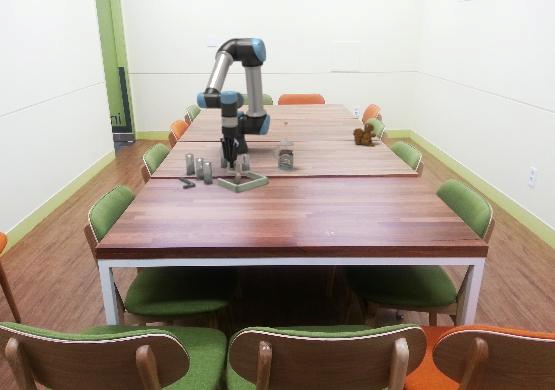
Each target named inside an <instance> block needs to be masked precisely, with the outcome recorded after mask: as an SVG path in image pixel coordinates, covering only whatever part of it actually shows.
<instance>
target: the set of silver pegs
mask: <svg viewBox="0 0 555 390" xmlns="http://www.w3.org/2000/svg"><path fill="white" fill-rule="evenodd" d="M194 155H195V154H194V153H186V154H185V156H184V157H185V166H186V169H185V170H186V175H187V174H188V176H194V175H195V174H196V180H198V181H201V180H202V181H203V183H204V185H212V184H213V180H214V179H213V167H212V166H213V165H212V162H211V161H205V159H204V158H203V157H197V158H194ZM240 156H241V171H248V170H249V171H251V164H250V161H251V160H250V153H248V152H246V153H243V154H240ZM219 158H220V168H222V169H227V160H226V159H224V155H223V149H222V147H220V148H219ZM236 164H237V160H236V161H234V167H236ZM233 171H235V170H234V168H233ZM193 174H194V175H193Z"/></svg>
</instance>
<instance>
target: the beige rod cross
mask: <svg viewBox="0 0 555 390" xmlns="http://www.w3.org/2000/svg"><path fill="white" fill-rule="evenodd" d="M240 169H241V162H237V161H236V167H234V170H235V171H227V170H226V175H228V176H232V175H233V176H234V184H239V180H240V179H241V178H242V176H246V175H248V171H242V170H240Z"/></svg>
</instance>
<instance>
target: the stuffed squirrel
mask: <svg viewBox="0 0 555 390" xmlns="http://www.w3.org/2000/svg"><path fill="white" fill-rule="evenodd" d="M374 131H375V125H374V124H372V123H370V122H369V123H368V122H367V123H365V124H364V129H362V128H361V127H359V128H355V129H353V132H352V135H353V140H354V144H356V145H357V146H365V147H376V144H375V143H374V142H373V139H372V138H376V137H377V133H372V132H374Z"/></svg>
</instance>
